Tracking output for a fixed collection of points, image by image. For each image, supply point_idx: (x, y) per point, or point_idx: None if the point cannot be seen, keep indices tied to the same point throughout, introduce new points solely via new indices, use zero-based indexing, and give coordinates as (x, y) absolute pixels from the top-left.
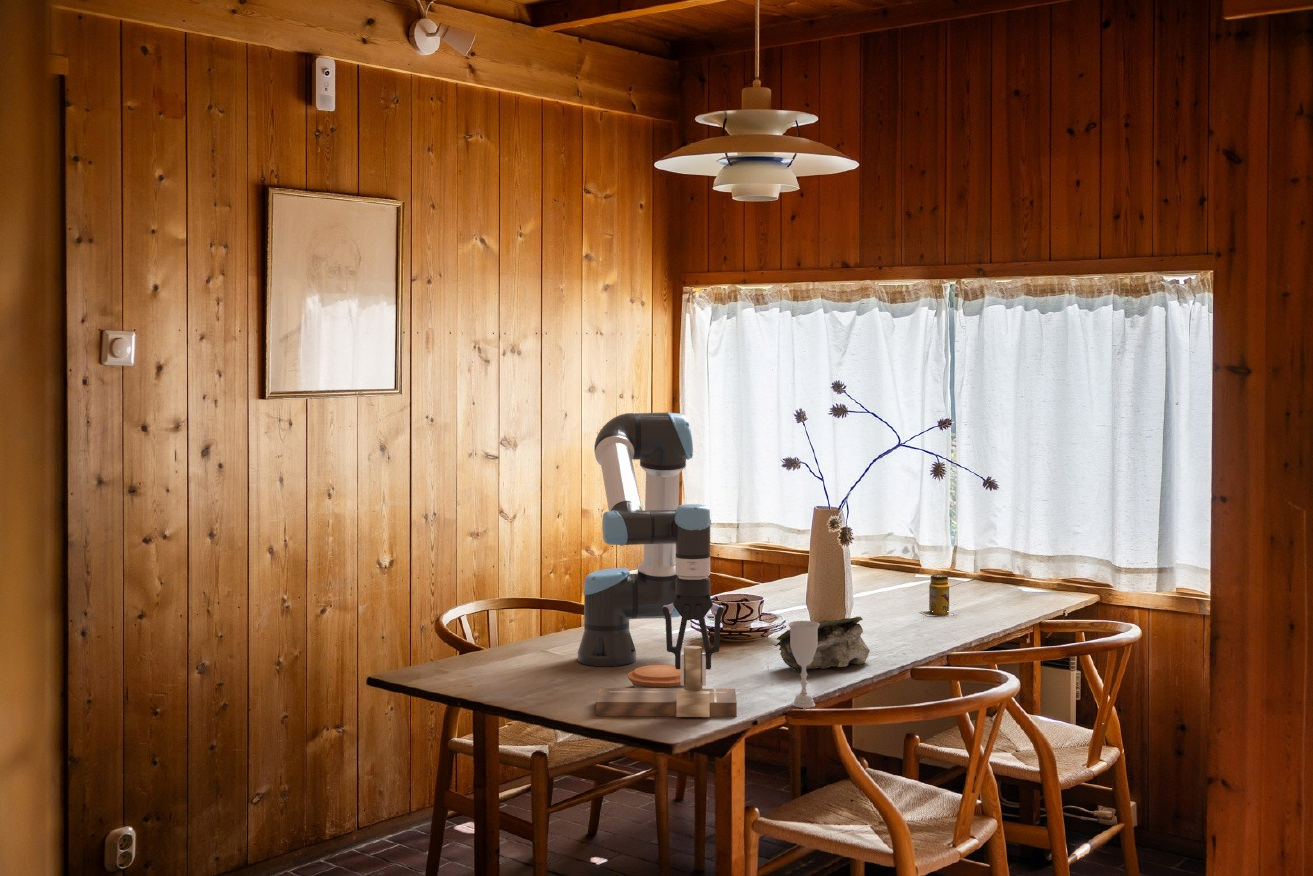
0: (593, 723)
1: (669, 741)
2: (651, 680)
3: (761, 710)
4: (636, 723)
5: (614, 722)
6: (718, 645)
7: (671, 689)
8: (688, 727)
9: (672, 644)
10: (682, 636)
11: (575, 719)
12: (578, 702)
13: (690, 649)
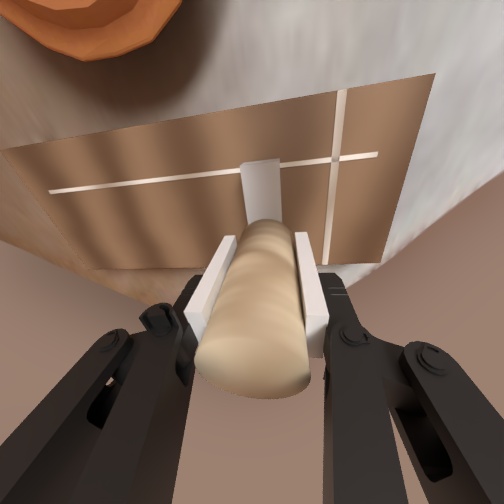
0: (128, 288)
1: None
2: (70, 30)
3: (456, 184)
4: None
5: (153, 283)
6: (436, 438)
7: (187, 136)
8: None
9: (112, 361)
10: (162, 494)
11: (93, 272)
12: (8, 164)
13: (242, 395)
